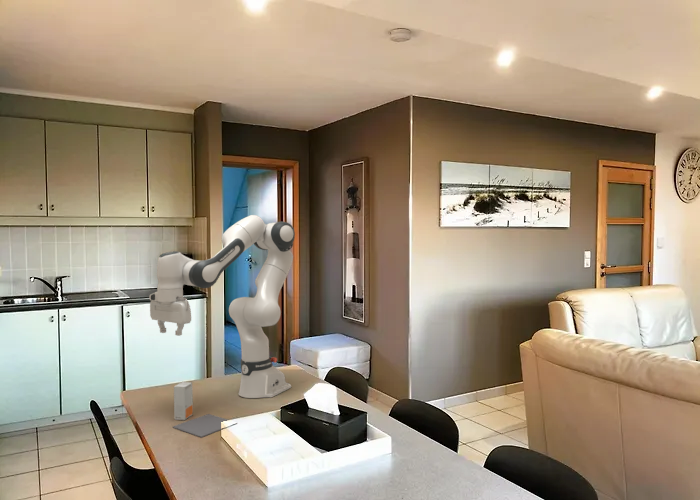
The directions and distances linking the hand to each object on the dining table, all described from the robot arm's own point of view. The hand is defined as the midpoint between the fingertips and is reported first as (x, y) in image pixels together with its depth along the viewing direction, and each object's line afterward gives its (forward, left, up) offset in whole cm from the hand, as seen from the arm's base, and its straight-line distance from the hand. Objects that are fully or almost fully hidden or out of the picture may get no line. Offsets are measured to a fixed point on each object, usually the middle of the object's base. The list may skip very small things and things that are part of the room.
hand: (170, 334), depth 194 cm
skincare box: (0, +7, -29) cm, 30 cm away
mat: (+1, +20, -29) cm, 36 cm away
